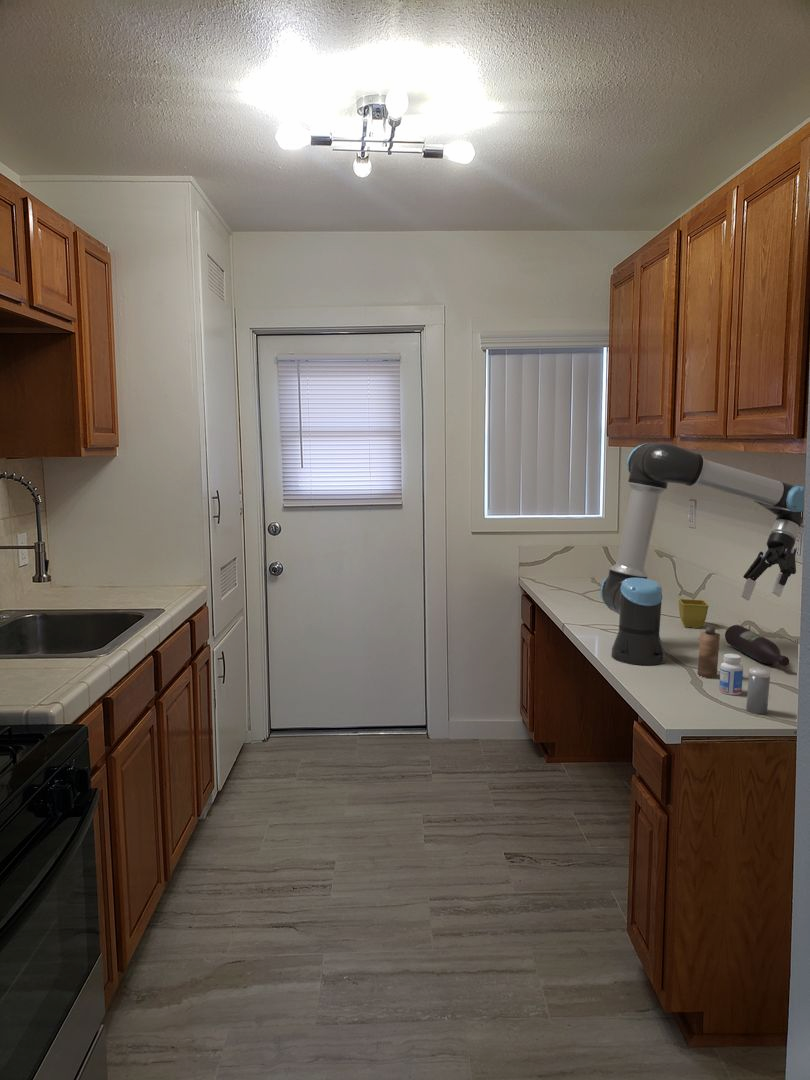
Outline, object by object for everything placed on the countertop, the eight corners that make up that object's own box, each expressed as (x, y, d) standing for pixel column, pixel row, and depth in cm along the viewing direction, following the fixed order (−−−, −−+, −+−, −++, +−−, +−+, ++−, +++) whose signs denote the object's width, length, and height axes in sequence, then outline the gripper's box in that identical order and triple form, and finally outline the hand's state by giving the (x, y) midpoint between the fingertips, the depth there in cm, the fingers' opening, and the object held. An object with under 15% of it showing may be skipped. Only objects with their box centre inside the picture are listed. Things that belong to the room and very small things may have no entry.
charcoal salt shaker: (749, 713, 182) (752, 672, 180) (743, 707, 186) (746, 666, 185) (769, 714, 181) (773, 673, 180) (763, 708, 186) (766, 667, 184)
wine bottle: (750, 632, 244) (802, 658, 214) (736, 650, 244) (787, 678, 214) (733, 620, 243) (783, 645, 213) (719, 638, 243) (767, 665, 214)
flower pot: (707, 630, 264) (708, 605, 263) (680, 628, 266) (682, 603, 265) (702, 624, 273) (704, 600, 272) (676, 623, 274) (678, 598, 273)
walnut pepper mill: (699, 677, 209) (703, 629, 208) (695, 672, 214) (698, 625, 212) (718, 679, 209) (722, 630, 207) (714, 673, 214) (717, 626, 212)
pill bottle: (740, 690, 199) (743, 654, 198) (742, 696, 194) (745, 659, 193) (718, 687, 201) (720, 652, 200) (719, 694, 196) (722, 657, 195)
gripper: (823, 536, 226) (799, 598, 220) (764, 549, 249) (742, 605, 244) (803, 524, 225) (779, 586, 219) (746, 537, 248) (723, 594, 243)
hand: (759, 596), depth 232 cm, fingers open, 13 cm apart
